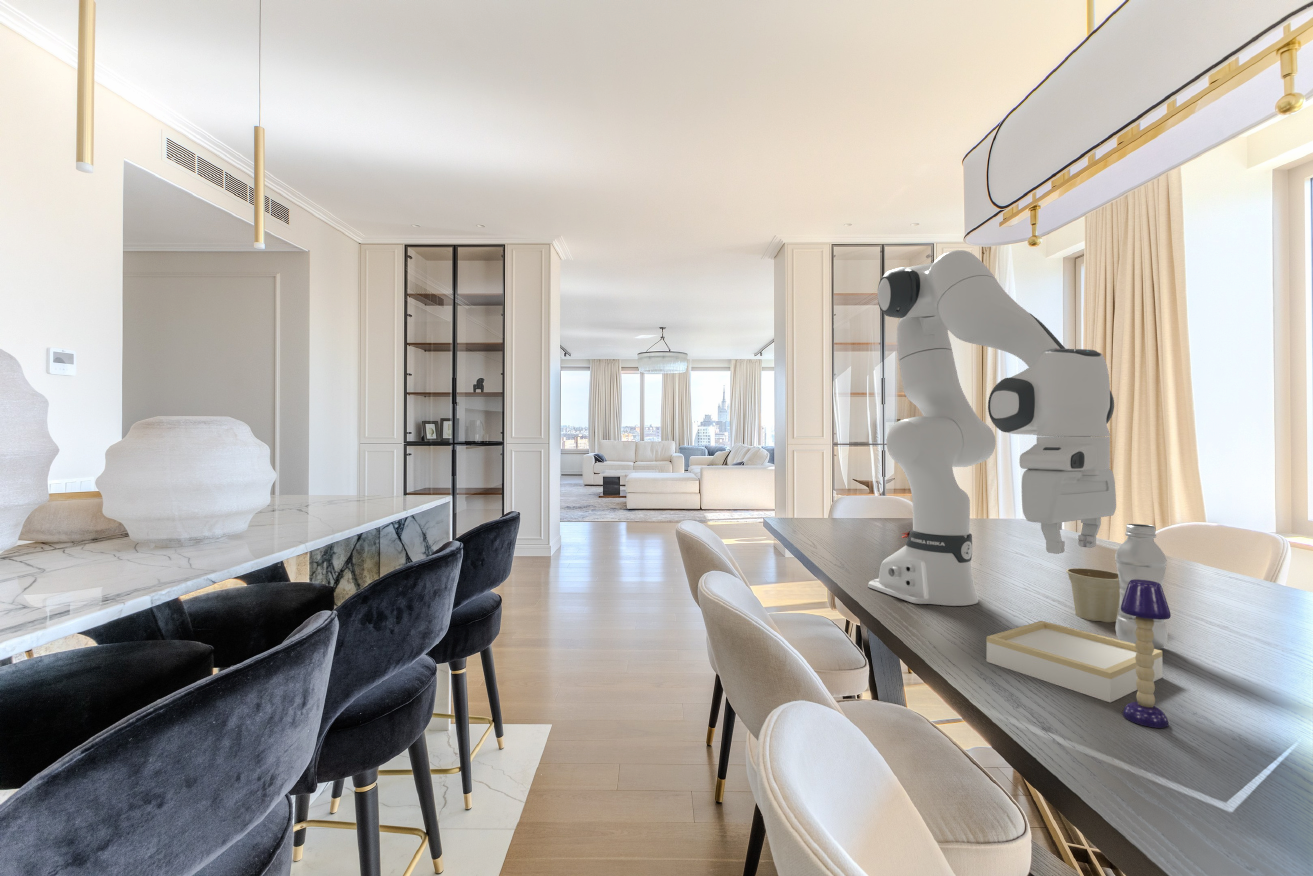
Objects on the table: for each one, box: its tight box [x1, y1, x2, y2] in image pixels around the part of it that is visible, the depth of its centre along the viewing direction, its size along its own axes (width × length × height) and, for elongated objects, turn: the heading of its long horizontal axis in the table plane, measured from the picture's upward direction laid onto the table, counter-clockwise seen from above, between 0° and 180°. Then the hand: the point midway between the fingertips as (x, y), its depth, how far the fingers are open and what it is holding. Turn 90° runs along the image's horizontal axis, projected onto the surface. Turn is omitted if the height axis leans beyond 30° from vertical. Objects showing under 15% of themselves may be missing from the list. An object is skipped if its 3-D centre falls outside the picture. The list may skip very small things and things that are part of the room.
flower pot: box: [1065, 567, 1120, 623], centre depth 111 cm, size 9×9×9 cm
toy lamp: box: [1121, 579, 1172, 729], centre depth 70 cm, size 5×5×17 cm
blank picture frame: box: [986, 620, 1163, 703], centre depth 86 cm, size 16×16×4 cm
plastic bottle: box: [1114, 523, 1169, 650], centre depth 95 cm, size 6×7×20 cm
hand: (1071, 550), depth 86 cm, fingers open, 8 cm apart
